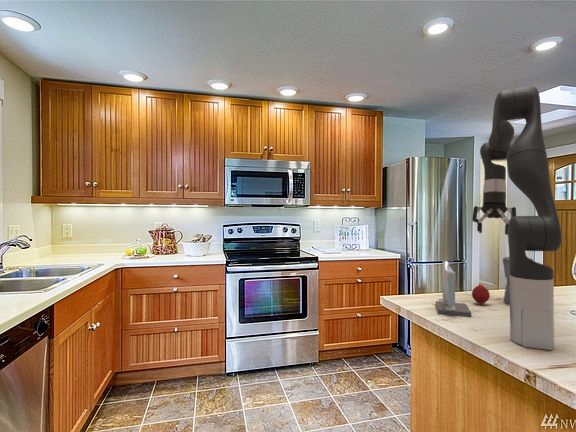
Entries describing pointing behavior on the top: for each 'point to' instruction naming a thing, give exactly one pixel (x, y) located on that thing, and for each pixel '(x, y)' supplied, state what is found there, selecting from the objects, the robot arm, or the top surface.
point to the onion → (480, 294)
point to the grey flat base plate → (453, 309)
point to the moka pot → (507, 279)
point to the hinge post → (445, 263)
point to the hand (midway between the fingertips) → (493, 233)
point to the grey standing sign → (449, 285)
